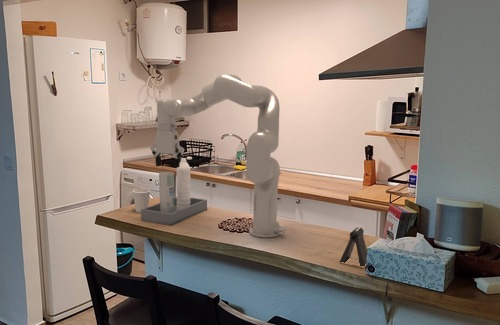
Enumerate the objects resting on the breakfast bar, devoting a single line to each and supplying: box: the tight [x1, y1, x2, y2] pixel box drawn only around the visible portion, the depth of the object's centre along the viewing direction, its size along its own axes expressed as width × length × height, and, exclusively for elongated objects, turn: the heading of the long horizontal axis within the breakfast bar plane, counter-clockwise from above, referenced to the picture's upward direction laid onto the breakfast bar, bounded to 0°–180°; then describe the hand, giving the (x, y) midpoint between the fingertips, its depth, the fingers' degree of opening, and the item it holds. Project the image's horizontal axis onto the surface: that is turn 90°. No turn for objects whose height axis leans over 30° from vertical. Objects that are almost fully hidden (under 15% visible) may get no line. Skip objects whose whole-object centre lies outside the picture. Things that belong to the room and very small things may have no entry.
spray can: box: [158, 171, 175, 213], centre depth 196 cm, size 6×6×20 cm
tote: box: [140, 196, 208, 226], centre depth 203 cm, size 16×30×5 cm, turn 155°
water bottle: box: [176, 156, 193, 211], centre depth 208 cm, size 9×6×25 cm
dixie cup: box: [131, 188, 151, 213], centre depth 209 cm, size 8×8×10 cm
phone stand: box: [339, 226, 368, 266], centre depth 149 cm, size 9×6×12 cm, turn 59°
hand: (167, 166), depth 194 cm, fingers open, 9 cm apart
